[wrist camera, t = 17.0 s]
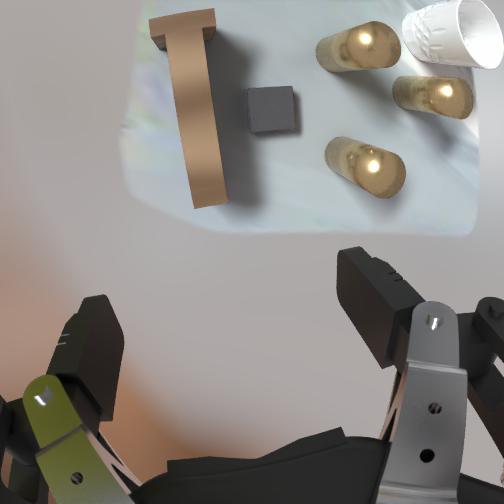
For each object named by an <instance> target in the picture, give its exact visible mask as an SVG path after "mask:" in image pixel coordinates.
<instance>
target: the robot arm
mask: <svg viewBox="0 0 504 504" xmlns="http://www.w3.org/2000/svg"><path fill="white" fill-rule="evenodd" d="M336 288H337V296H338V300H339V302H340V305H341V306H342V308H343V309H344V311H345V312H346V314H347V315H348V317H349V318H350V320H351V321H352V323H353V324H354V326H355V327H356V329H357V331H358V332H359V334H360V335H361V337H362V338H363V340H364V341H365V343H366V345H367V346H368V348H369V349H370V351H371V352H372V354H373V356H374V357H375V359H376V360H377V362H378V363H379V365H380V367H381V368H382V369H384V368H386V367H389V366H392V365H395V367H396V368H397V372H396V375H395V380H394V385H393V389H392V393H391V397H390V402H389V406H388V410H387V414H386V418H385V421H384V425H383V428H382V430H381V433H380V436H379V439H375V438H371V437H359V436H357V437H356V436H350V437H345V435H344V432H343V430H342V428H341V427H339V428H335V429H332V430H329V431H326V432H322V433H319V434H316V435H312V436H308V437H305V438H301V439H298V440H296V441H294V442H292V443H291V444H288V445H286V446H284V447H282V448H280V449H278V450H276V451H274V452H271V453H269V454H267V455H265V456H263V457H260V458H257V459H240V458H223V457H211V456H208V457H200V458H191V459H181V460H168V461H167V470H168V472H165V473H162V474H160V475H158V476H156V477H154V478H152V479H150V480H148V481H147V482H145V483H144V484H142V483H141V482H140V481H139V480H138V479H137V478H136V477H135V476H134V475H133V474H132V473H131V471H130V470H129V469H128V468H127V466H126V465H125V464H124V463H123V461H122V460H121V459H120V457H119V456H118V455H117V454H116V452H115V451H114V449H113V448H112V447H111V445H110V444H109V443H108V441H107V440H106V438H105V437H104V435H103V434H102V433H101V431H100V430H99V424H100V422H101V421H112V420H113V412H114V405H115V398H116V391H117V384H118V378H119V372H120V366H121V361H122V355H123V350H124V335H123V332H122V329H121V326H120V324H119V322H118V320H117V317H116V315H115V313H114V311H113V308H112V306H111V304H110V302H109V299H108V297H107V296H106V295H104V294H103V295H97V296H91V297H86V298H84V299H83V301H82V304H81V306H80V309H79V311H78V313H76V314H74V315H73V316H72V317H71V318H70V319H69V320H68V322H67V323H66V324H65V326H64V329H63V331H62V334H61V337H60V338H59V341H58V345H57V346H56V348H55V351H54V354H53V356H52V359H51V362H50V364H49V367H48V370H47V372H46V375H42V376H40V377H37V378H36V379H34V380H33V381H32V382H30V384H29V385H28V386H27V387H26V389H25V391H24V394H23V398H20V399H17V400H13V401H10V402H6V401H5V400H4V399H3V398H2V396H1V395H0V504H48V492H49V488H50V490H51V492H52V494H53V496H54V498H55V500H56V502H57V503H58V504H504V488H503V487H500V486H497V485H494V484H490V483H488V482H485V481H482V480H479V479H476V478H473V477H471V476H468V475H465V474H463V473H460V469H461V462H462V455H463V446H464V437H465V426H466V409H467V398H468V399H469V401H470V402H471V404H472V406H473V407H474V409H475V410H476V412H477V414H478V415H479V417H480V419H481V420H482V422H483V423H484V425H485V427H486V429H487V430H488V432H489V434H490V435H491V437H492V439H493V441H494V442H495V444H496V446H497V447H498V449H499V451H500V453H501V455H502V457H503V458H504V377H503V376H502V374H501V373H500V372H499V371H498V369H497V368H496V366H495V365H494V364H493V363H494V361H495V359H496V358H497V356H498V357H499V358H500V359H501V360H502V362H503V363H504V301H503V300H502V299H499V298H495V297H485V298H483V299H481V300H480V301H479V303H478V305H477V308H476V311H475V312H473V313H462V314H456V313H455V312H454V311H453V309H451V308H450V307H449V306H447V305H445V304H443V303H440V302H436V301H435V302H434V301H428V302H426V301H425V300H424V299H423V298H422V297H421V296H420V295H419V294H418V293H417V292H416V291H415V289H414V288H413V287H411V285H409V283H408V282H407V281H405V280H403V277H402V276H401V275H400V274H399V273H396V270H394V269H393V268H392V267H391V266H390V265H389V264H388V263H387V262H385V261H382V260H380V259H378V258H376V257H374V258H371V256H370V255H369V254H368V253H367V252H366V251H364V249H363V248H362V247H359V246H358V247H353V248H349V249H344V250H340V251H339V252H338V255H337V286H336ZM5 451H6V452H8V453H9V454H10V455H11V456H12V457H13V460H12V465H11V472H10V478H9V485H8V488H7V487H6V486H5V485H4V484H3V482H2V479H1V467H2V462H3V456H4V452H5ZM500 480H501V483H502V485H504V464H503V473H502V475H501V478H500Z"/></svg>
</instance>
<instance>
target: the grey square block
mask: <svg viewBox="0 0 504 504" xmlns="http://www.w3.org/2000/svg"><path fill="white" fill-rule="evenodd" d="M245 98H246V108H247V118H248V128H249V131H250V132H262V131H272V130H284V129H295V114H294V101H293V88H292V86H280V87H263V88H250V89H245Z"/></svg>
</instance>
